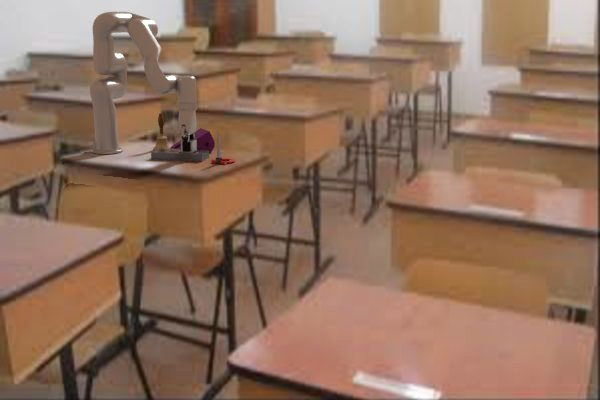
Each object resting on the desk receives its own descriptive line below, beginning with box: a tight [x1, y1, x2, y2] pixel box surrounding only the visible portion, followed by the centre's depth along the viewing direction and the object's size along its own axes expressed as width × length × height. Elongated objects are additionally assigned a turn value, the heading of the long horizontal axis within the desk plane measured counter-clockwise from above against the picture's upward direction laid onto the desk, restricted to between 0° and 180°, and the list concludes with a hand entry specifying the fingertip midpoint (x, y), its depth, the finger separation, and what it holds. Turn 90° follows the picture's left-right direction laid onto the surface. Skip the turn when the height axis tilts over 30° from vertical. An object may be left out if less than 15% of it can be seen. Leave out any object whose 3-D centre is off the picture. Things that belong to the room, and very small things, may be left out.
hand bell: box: [152, 112, 172, 151], centre depth 330 cm, size 8×8×16 cm
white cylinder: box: [181, 139, 197, 154], centre depth 310 cm, size 5×5×7 cm
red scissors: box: [210, 131, 236, 166], centre depth 304 cm, size 8×13×9 cm
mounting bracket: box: [170, 127, 216, 153], centre depth 325 cm, size 10×8×18 cm
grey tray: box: [150, 148, 210, 163], centre depth 311 cm, size 22×9×3 cm, turn 78°
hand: (188, 149), depth 310 cm, fingers closed on white cylinder, 5 cm apart
